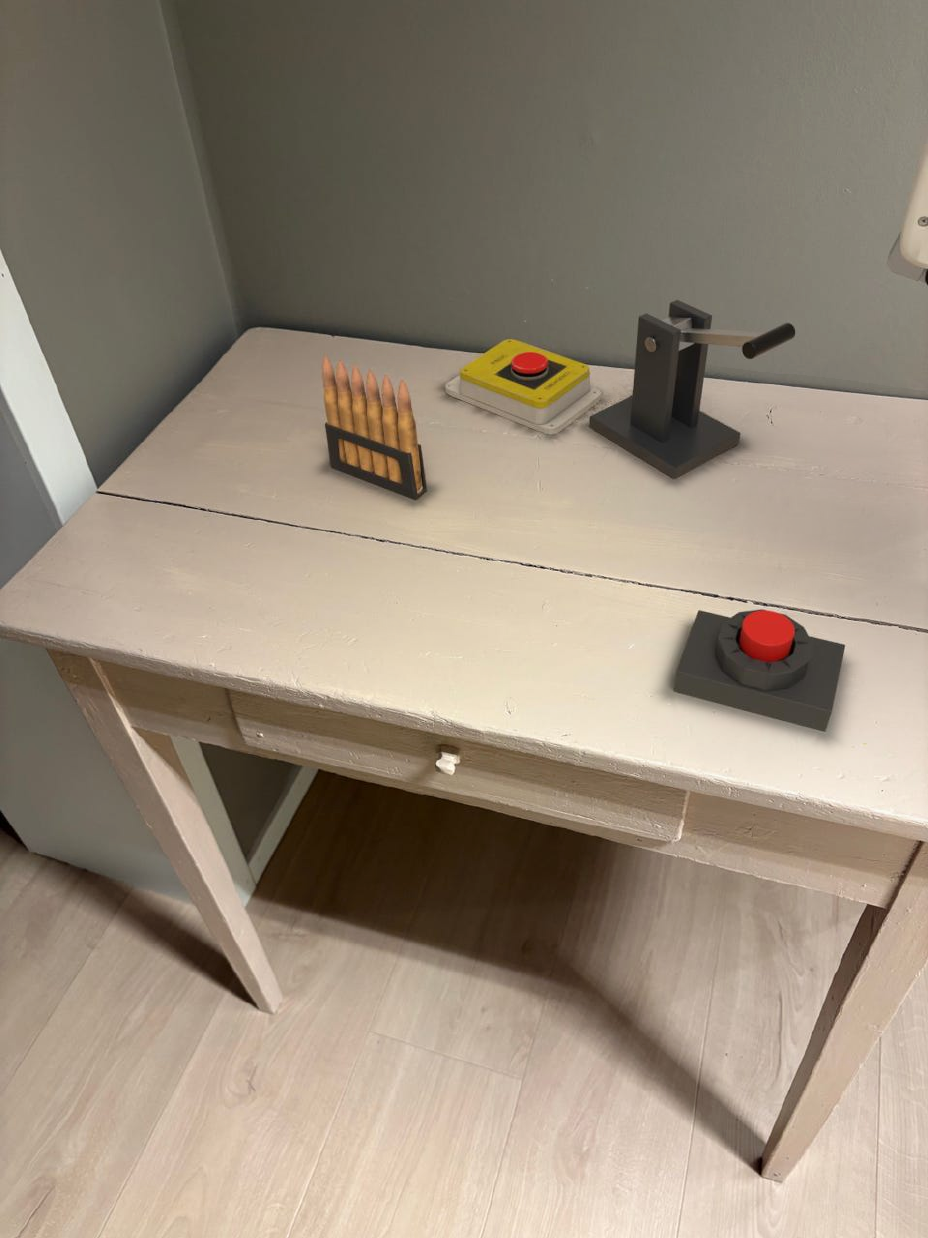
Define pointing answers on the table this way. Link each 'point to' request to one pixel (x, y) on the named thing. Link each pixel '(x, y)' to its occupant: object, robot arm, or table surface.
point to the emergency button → (527, 386)
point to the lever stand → (667, 400)
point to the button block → (760, 672)
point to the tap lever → (732, 337)
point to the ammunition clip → (372, 431)
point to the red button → (766, 636)
